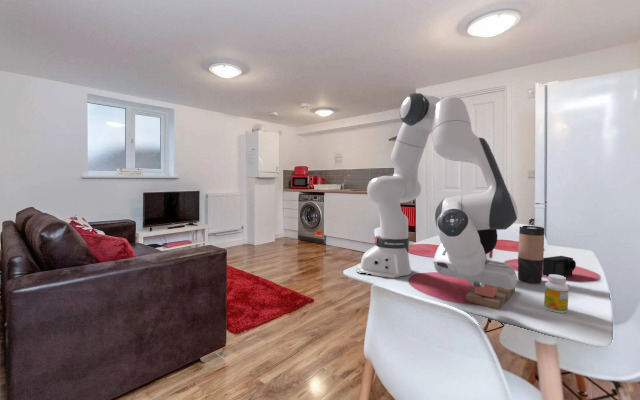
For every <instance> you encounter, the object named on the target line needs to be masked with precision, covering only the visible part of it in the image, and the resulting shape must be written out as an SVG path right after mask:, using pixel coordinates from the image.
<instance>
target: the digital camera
mask: <svg viewBox="0 0 640 400" xmlns="http://www.w3.org/2000/svg"><path fill="white" fill-rule="evenodd" d="M576 266H577V263H576V260H574V258H573V257H570V256H564V255H557V256H556V255H555V256H549V257H543V269H542V276H545V275H546V276H545V277H548V276H549V275H550V274H555V275H561V276H565V277H569V276H568V275H571V276H573V272H574V270H575V269H576Z"/></svg>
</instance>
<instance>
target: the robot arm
mask: <svg viewBox="0 0 640 400" xmlns="http://www.w3.org/2000/svg"><path fill="white" fill-rule="evenodd" d="M399 117H400V118H399V119H400V120H401V122H402V123H401V127H400V129H399V130H398V133H397V136H396V139H395V142H394V145H393V148H392V152H391V154H390V161H391V164H393V168H394V169H393V174H392V175H382V176H377V177H374V178H372V179H371V180H369V182H368V184H367V187H366V191H367V196H368V198H369V200H370V201H371V202H372V203H373V204H374V205H375V207H376V209H377V212H378V216H379V228H380V229H379V233H380V234H379V235H375V237H374V244H375V245H374V246H372V247H371V248H369V249H368V250H366V251H365V252H364V253H363V254H362V257H361V260H360V261H361V262H360V263H358V264H357V265H358V266H357V265H356V266H355V271H356V270H357V271H358V272H361V273H366V274H365V275H368V274H371V275H370V276H376V277H383V278H389V279H391V278H392V279H397V278H399V277H406V276H409V275H410V274H412V268H411V264H410V255H409V252H410V238H409V218H408V217H407V215H406V214H404V213H403V210H402V207H401V204H402V203H409V202H412V201H414V200H416V199H418V198H419V196H420V194H421V192H422V187H421V184H420V182H419V179H418V176H419V175H418V174H419V173H418V172H419V166H420V163H421V159H422V157H423V153H424V151H425V148H426V145H427V143H428V142H427V141H428V139H429V136H430V135H431V141H432V146H433V149H434V151H435V152H436V153H437V155H439V156H440V157H442V158H443V159H445V160H449V161H453V162H463V163H469V164H473V165H475V166H476V165H477V166H478V167H479V168H480V170H481V172H482V174H483V177H484V181H485V182H486V186H487V190H485V191H482V192H477V193H476V192H475V193H469V194H460V195H455V196H454V195H453V196H449V197H444V198H443V199H442V200H441V201H439V203H438V205H437V207H436V208H435V214H434V220H435V226H436V230H437V233H438V237H439V241H440V244H439V245H438V246H437V249H436V251H435V253H434V257H433V260H432V262H433V265H434V268H435V270H436V272H437V273H439V274H440V275H442V276H447V277H452V278H457V279H461V280H465V281H467V282H469V284H471V286H472V287H474V288H475V287H480V288H484V285H485V284H488V285H493V286H498V287H502V288H507V289H514V288H515V289H516V286H517V282H518V275H517V274H516V271H515V268H514V267H513V266H511V265H510V264H509V263H506V262H503V261H498V260H492V259H488V257H487V254H485V251H484V248H483V246H482V244H481V243H480V237H479V234H478V232H477V230H486V229H491V230H497V231H498V230H507V229H508V228H510V227H511V226H512V225H514V223H516V221H517V220H518V207H517V203H516V201H515V199H514V197H513V196H512V194H511V193H510V191H509V190H508V187H507V185H506V183H505V180H504V177H503V174H502V173H501V169H500V167H499V165H498V162H497V160H496V158H495V155H494V154H493V152H492V149H491V146H490V145H489V143H488V142H487V140H486V139H485V138H483V137H478V136H477V135H476V134H475V133H474V132H473V129H472V123H471V119H470V118H471V117H470V114H469V111H468V109H467V105H466V103H465V102H464V101H463V100H462V99H461V98H459V97H456V96H447V97H442V96H436V95H435V96H434V95H429V94H428V95H427V94H422V93H417V92H413V93H409V94H408V95H407V96H405V97H404V99H403V100H402V102H401V105H400V109H399ZM358 269H359V270H358Z"/></svg>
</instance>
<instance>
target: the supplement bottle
mask: <svg viewBox="0 0 640 400" xmlns="http://www.w3.org/2000/svg"><path fill="white" fill-rule="evenodd" d="M547 277H548V278H547V279H548V281H546V282H545V284H544V300H543V301H544V302H543V307H544V309H546V310H548V311H549V312H552V313H553V312H554V313H559V314H564V313H567V312H568V310H569V308H568V307H569V293H570V292H569V291H570V288H569V285H567V284H566V282H567V278H566V277H567V276H565V277H564V276H561V275H555V274H550V275H549V276H547Z"/></svg>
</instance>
